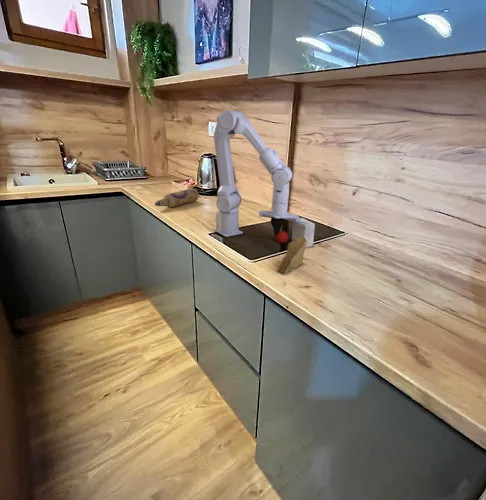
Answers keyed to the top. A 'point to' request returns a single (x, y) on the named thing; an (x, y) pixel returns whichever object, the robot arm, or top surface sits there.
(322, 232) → the top surface
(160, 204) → the decorative bottle
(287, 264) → the rock
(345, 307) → the top surface
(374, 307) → the top surface
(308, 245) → the medicine box
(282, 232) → the ball
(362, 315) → the top surface
